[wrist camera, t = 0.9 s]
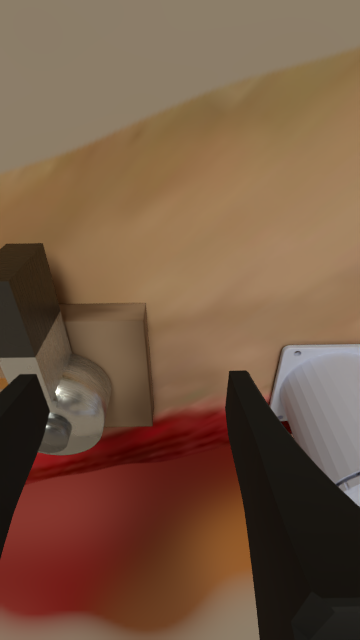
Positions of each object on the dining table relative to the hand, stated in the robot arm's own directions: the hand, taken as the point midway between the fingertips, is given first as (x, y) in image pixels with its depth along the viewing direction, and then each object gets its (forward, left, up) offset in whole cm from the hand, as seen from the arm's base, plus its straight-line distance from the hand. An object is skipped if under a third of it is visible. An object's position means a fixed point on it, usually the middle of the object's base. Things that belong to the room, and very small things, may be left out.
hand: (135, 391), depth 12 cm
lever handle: (+6, +3, -7) cm, 10 cm away
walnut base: (+6, +7, -9) cm, 13 cm away
